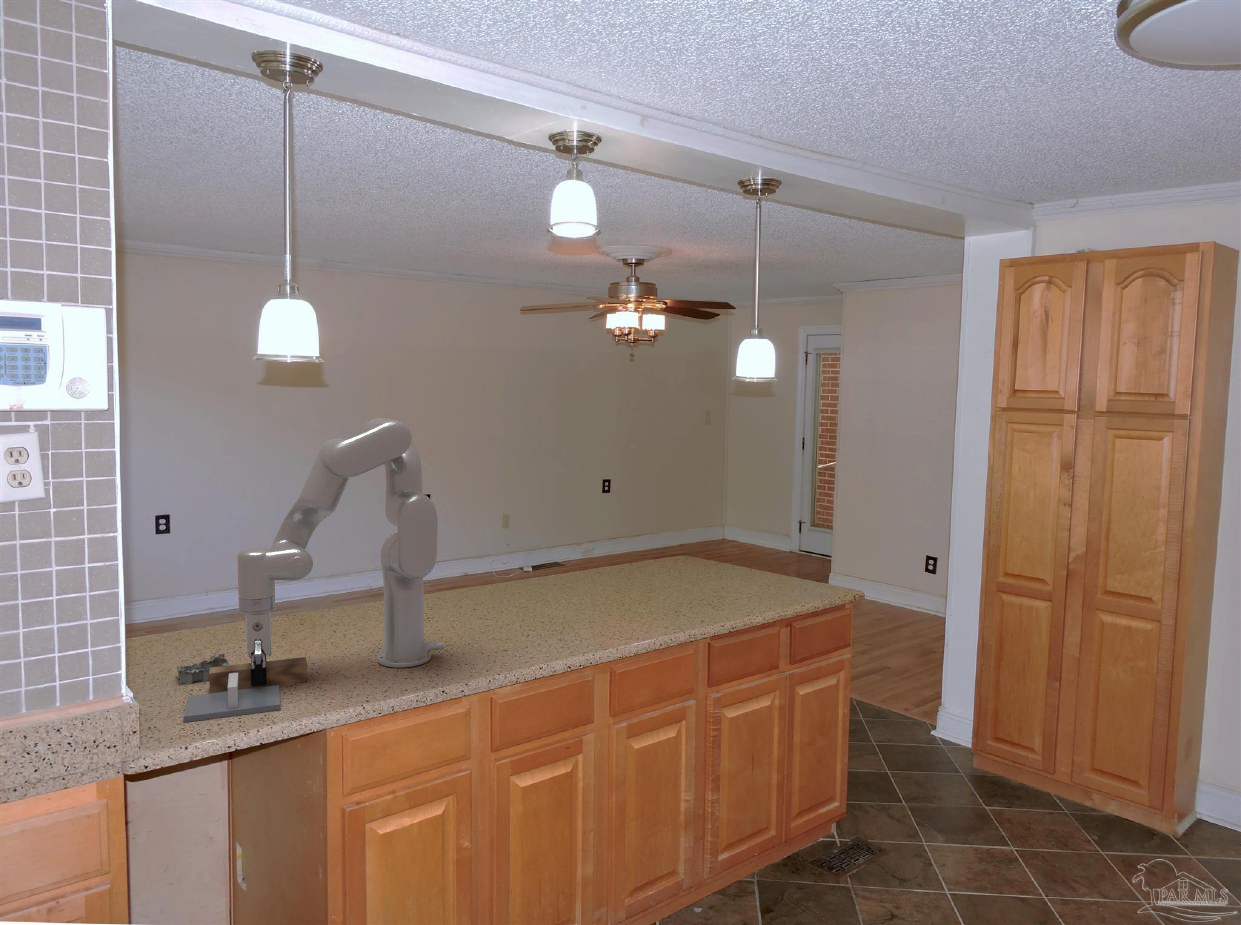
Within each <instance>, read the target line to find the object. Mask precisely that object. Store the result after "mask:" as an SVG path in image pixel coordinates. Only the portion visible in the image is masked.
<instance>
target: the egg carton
mask: <svg viewBox="0 0 1241 925" xmlns="http://www.w3.org/2000/svg"><path fill="white" fill-rule="evenodd" d="M229 665H230V663H229V662H228V659H227V657H226V655H225V653H219V654H214V655H212V656H210V657H209V659H203V660H202V661H198V662H191V663H188V664H187V665H179V666H176V669H177V678H178V680H179V683H180V684H187V685H189V684H193V683H194V682H197V681H203V682H207V681H209V671H210V668H211V667H220V666H229Z"/></svg>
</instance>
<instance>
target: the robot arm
mask: <svg viewBox="0 0 1241 925" xmlns="http://www.w3.org/2000/svg"><path fill="white" fill-rule="evenodd" d="M412 440H413V438H412V432H411V430H410V428H409V427H408V425H406V424H405V423H403V421H400V420H396V419H390V418H384V417H377V418H373V419H370V420H369V421H367V423H366V424H365V425H364V428H363V430H362V433H360V434H358V435H355V436H353V437H350V438H348V439H347V438H339V437H338V438H331V439H328V440H327V441H325V442H324V443H323V445H322V446H321V447H320V449H319V451H318V454H317V455H316V457H315V461H314V462H313V465H312V467H311V469H310V472H309V474H308V476H307V478H306V480H305V483H304V484H303V487H302V490H301V491H300V494H299V496H298V497H297V499H296V501H295V502H294V503H293V505H292V506H291V508H290V510H289V511H288V513H287V514H286V516H285V517H284V519H283V521H282V523H281V524H280V525H279V526H280V527H279V529H278V531H277V533H276V536H275V538H274V541H273V542H272V545H271V547H270V548H267V547H250V548H244V549H242V550H241V551H239V552H238V555H237V586H238V587H237V590H238V591H237V592H238V594H237V595H238V612H239V613H240V614H242V615H244V625H245V626H244V627H245V641H246V650H247V656H248V658H250V663H252V668H251V686H252V687H254V686H263V685H266V684H267V669H266V667H265V661H267V656H268V657H271V656H272V655H273V644H272V643H273V638H272V635H273V632H272V615H271V614H272V612H274V611H275V610H276V583H275V582H276V581H290V582H291V581H299V580H302V579H304V578H306V577H308V576H309V575H310V573H311V572H312V570H313V566H314V560H313V557H312V555H311V553H309V552H308V550H306V549H307V546H308V544H309V541H310V540H311V538H312V535H313V534H314V531H316V529H317V527H318V526H319V525H320V524H321V523H322V522H323V521H324V520H326V519H327V518H329V517H330V516H331V515H332V514H333V513H334V512H335V511H336V509H337V507H338V506H339V503H340V500H341V499H342V498H341V497H342V496H343V494H344V491H345V489H346V487H347V484H348V482H349V480H350V478H355V477H357V476H360V475H362V474H365V473H368V472H369V471H372V470H374V469H376V468H379V467H381V466H382V465H384V470H385V507H384V508H385V509H384V510H385V517H386V519H387V521H388V522H389V523H390V524H391V525H392V526H395V527H396V528H397V532H395V533H393V534H391V535H389V536H388V537H387V538H386V539H385V540H384V542H383V543H382V545H381V549H380V564H381V565H380V566H381V572H382V580H383V626H384V628H383V629H384V630H383V632H384V634H383V635H384V641H383V642H384V651H383V652H380V654H379V655H378V656H377V661H378V663H379V664H380V665H382V666H385V667H388V668H411V667H416V666H419V665H423V664H426V663H427V662H429V661H430V660H431V658H432V657H431V656H432V655H431V652H432V651H442V650H443V651H444V647H445V646H444V641H438V642H437V640H431V641H428V640H426V639H425V614H424V613H425V606H424V605H425V587H424V578H425V577H427V576H429V575H430V573H432V571H433V569H434V568H435V565H436V562H437V555H438V512H437V508H436V505H435V504H434V502H433V501H432V499H431V498H430V497H428V496H427V495H426V494H423V476H422V475H423V471H422V460H421V457H420V454H419V452H418V449H417V448H416V445H415V444H414V442H413V441H412ZM262 663H263V665H262ZM262 666H263V667H262Z"/></svg>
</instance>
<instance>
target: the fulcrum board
mask: <svg viewBox="0 0 1241 925" xmlns="http://www.w3.org/2000/svg"><path fill="white" fill-rule="evenodd" d="M280 696H281V695H280V686H279V685H276V686H267V687H259V688H251V689H242V690H239V682H238V673H229V679H228V691H225V692H217V693H210V692H209V693H201V694H200V693H199V694H194V695H188V696H187V699H186V703H185V709H184V713H183V723H188V722H189V723H190V722H197V721H206V720H212V719H213V720H214V719H221V718H229V717H235V716H244V715H249V714H250V715H251V714H260V713H261V714H262V713H267V712H274V711H281V697H280Z"/></svg>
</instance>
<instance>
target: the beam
mask: <svg viewBox="0 0 1241 925" xmlns="http://www.w3.org/2000/svg"><path fill="white" fill-rule="evenodd" d="M262 665H263V663H262ZM262 667H263V666H262ZM265 667H266V669H267V684H266V685H263V686H254V687H252V686H251V668H252V663H251V662H250V663H249V662H248V663H239V664H231V665H230V664H229V666H220V667H211V668H210V671H209V680H208V681H209V693H217V692H225V691H228V679H229V673H238V682H239V690H242V689H251V688H259V687H267V686H276V685H279V687H281V686H291V685H297V684H306V683H308V661H307V656H303V657H294V658H285V659H275V660H266V661H265Z"/></svg>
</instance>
